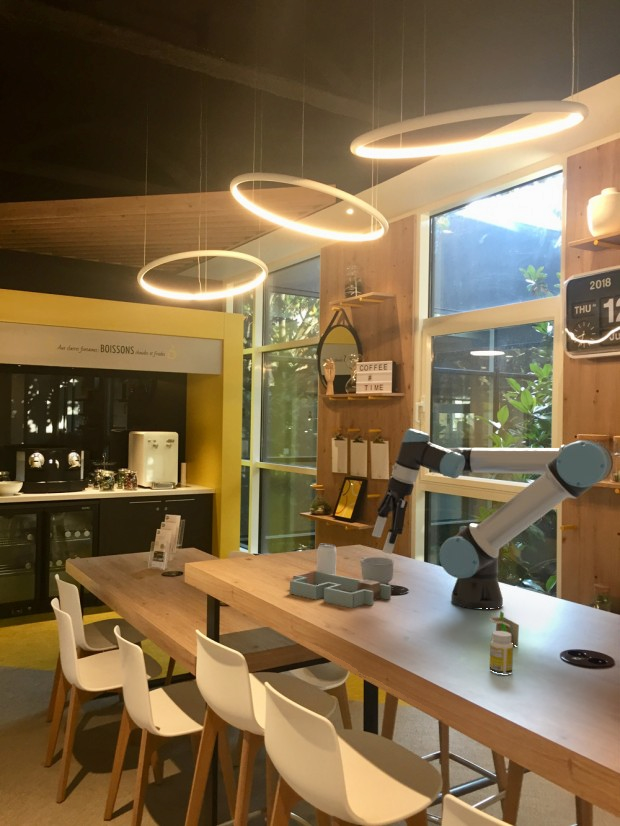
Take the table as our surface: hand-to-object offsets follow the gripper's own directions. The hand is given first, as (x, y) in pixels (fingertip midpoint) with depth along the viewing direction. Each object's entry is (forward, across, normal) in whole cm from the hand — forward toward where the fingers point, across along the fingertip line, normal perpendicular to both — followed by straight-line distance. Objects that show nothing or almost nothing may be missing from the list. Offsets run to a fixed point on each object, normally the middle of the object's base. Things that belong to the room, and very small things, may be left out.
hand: (381, 544), depth 213 cm
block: (+17, +3, 0) cm, 17 cm away
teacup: (+19, -17, +8) cm, 27 cm away
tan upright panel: (+3, +47, +22) cm, 52 cm away
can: (+23, -20, -7) cm, 31 cm away
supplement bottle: (+2, +66, +11) cm, 67 cm away
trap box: (+19, 0, -9) cm, 21 cm away
